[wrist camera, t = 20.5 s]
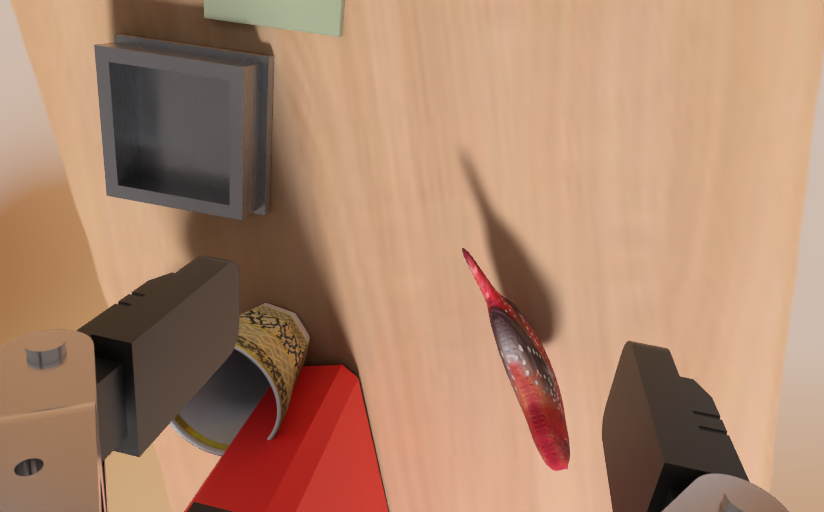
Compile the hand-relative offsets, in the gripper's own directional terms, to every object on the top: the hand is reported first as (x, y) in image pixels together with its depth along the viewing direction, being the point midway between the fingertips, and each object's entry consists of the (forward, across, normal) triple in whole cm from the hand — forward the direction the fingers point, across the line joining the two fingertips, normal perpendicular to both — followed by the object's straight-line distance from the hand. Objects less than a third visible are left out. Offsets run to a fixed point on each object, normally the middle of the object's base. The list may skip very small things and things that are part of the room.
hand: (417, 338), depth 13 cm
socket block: (+33, +23, +5) cm, 41 cm away
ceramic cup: (+33, +17, +23) cm, 44 cm away
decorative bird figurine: (+34, -4, +16) cm, 37 cm away
